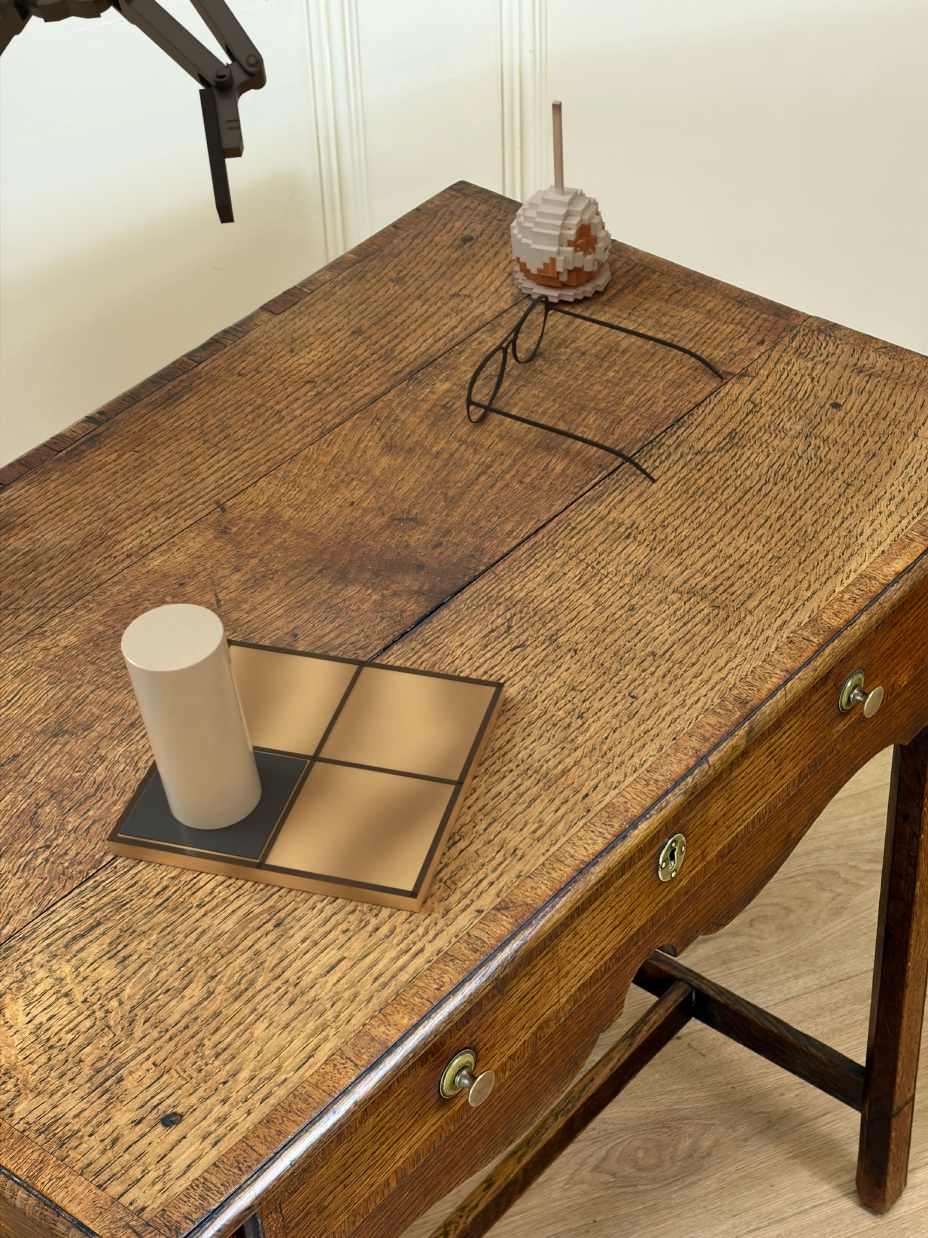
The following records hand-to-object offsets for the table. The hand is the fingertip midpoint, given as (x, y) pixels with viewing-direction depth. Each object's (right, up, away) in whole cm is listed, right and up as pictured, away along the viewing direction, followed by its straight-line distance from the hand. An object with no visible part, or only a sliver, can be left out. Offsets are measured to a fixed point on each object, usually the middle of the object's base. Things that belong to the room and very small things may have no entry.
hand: (101, 228), depth 87 cm
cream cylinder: (+6, -31, +2) cm, 32 cm away
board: (+11, -30, +5) cm, 32 cm away
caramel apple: (+25, +10, +43) cm, 51 cm away
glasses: (+28, -3, +30) cm, 41 cm away
